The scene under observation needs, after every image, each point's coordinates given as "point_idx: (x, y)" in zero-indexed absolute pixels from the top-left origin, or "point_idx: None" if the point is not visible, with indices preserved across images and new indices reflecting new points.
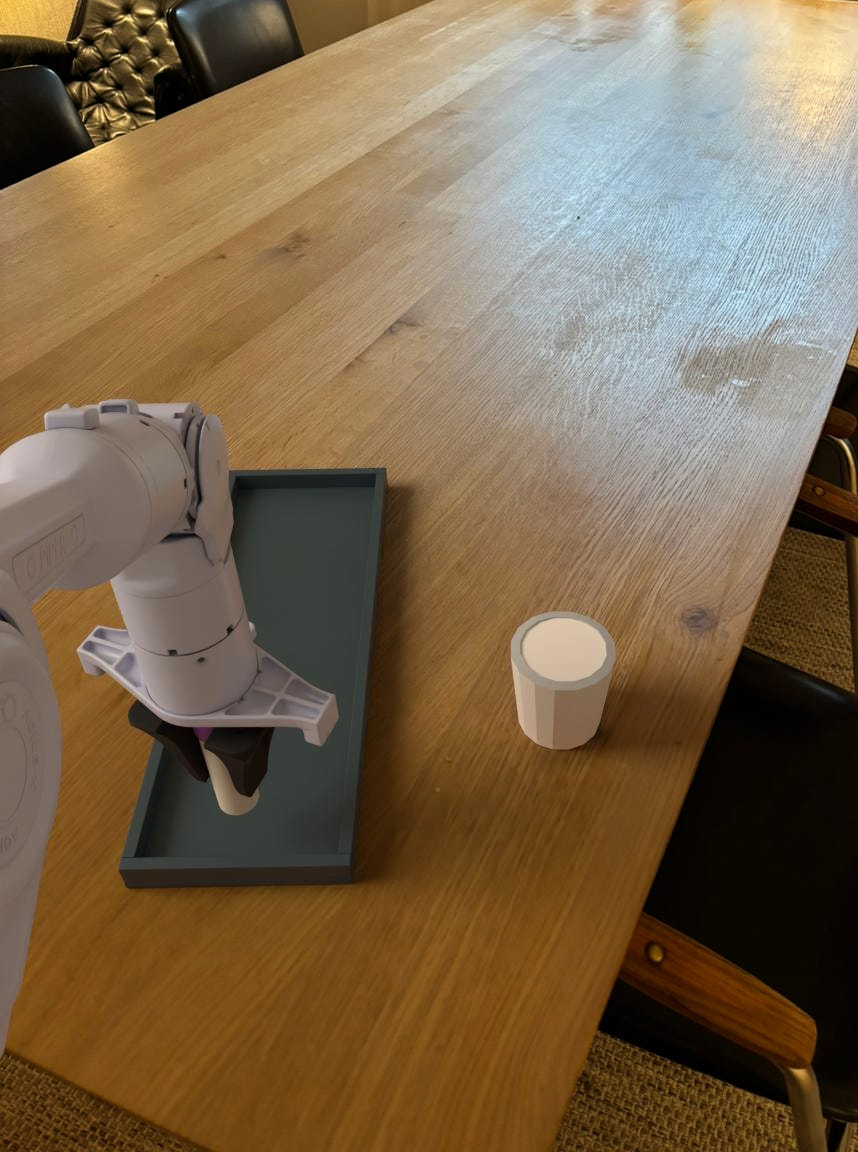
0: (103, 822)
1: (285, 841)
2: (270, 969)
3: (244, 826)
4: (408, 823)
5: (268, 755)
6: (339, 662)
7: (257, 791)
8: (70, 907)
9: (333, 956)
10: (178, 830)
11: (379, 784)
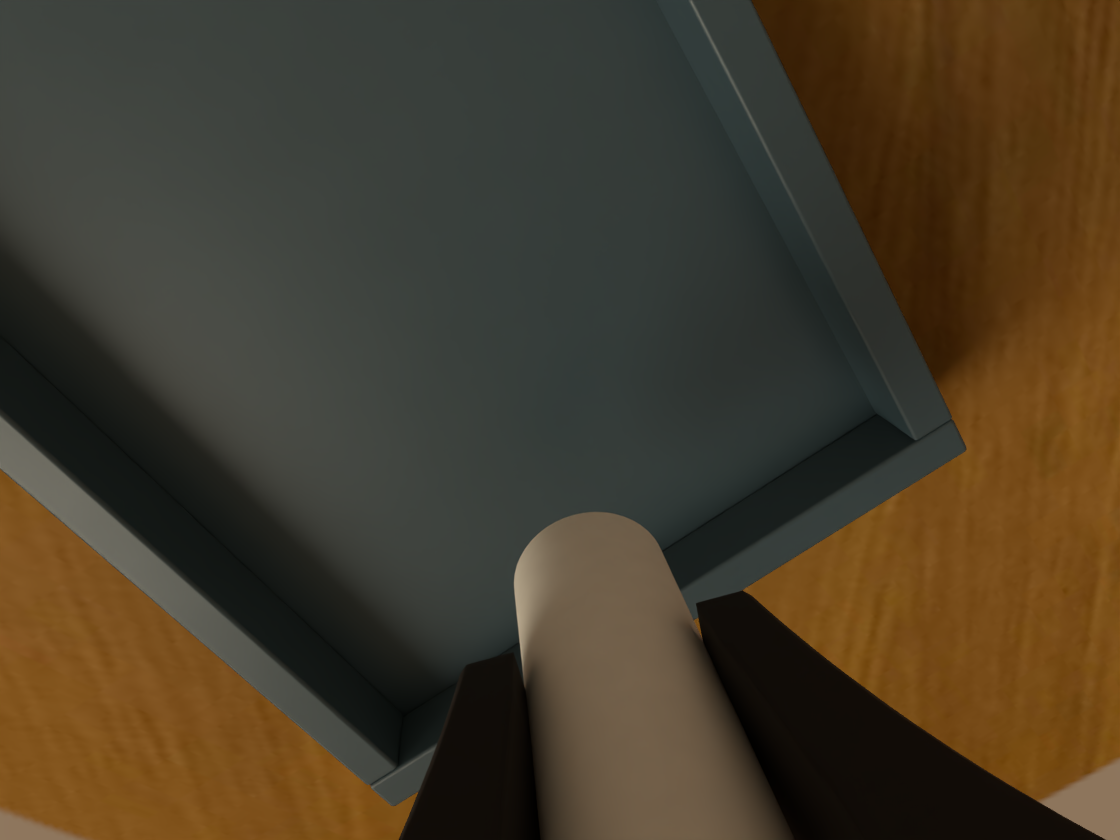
0: (174, 667)
1: (685, 444)
2: (833, 659)
3: (545, 479)
4: (969, 155)
5: (798, 636)
6: None
7: (662, 557)
8: (333, 820)
9: (948, 566)
10: (390, 595)
11: (811, 79)
